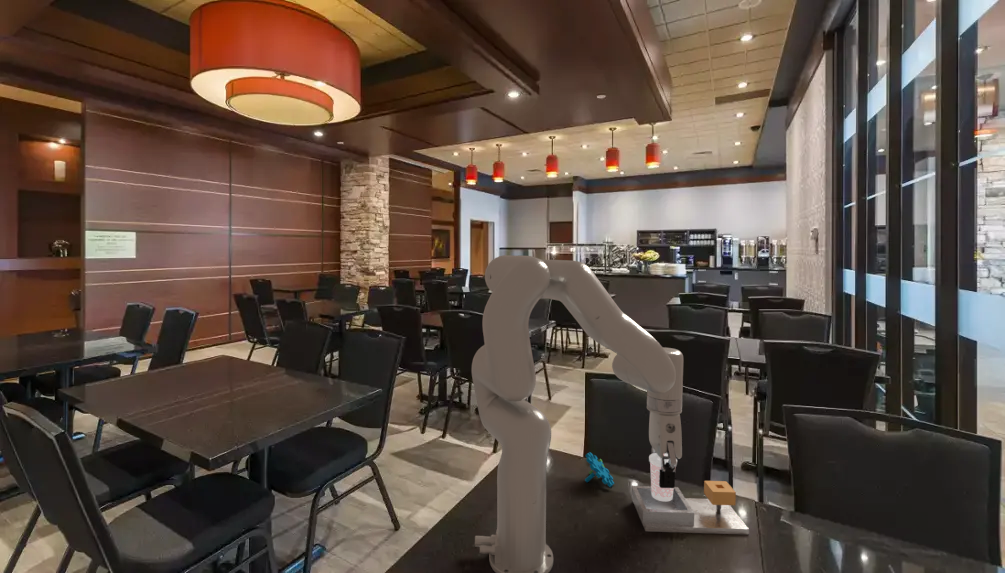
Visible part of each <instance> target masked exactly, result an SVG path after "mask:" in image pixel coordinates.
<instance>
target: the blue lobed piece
mask: <svg viewBox="0 0 1005 573" xmlns="http://www.w3.org/2000/svg"><path fill="white" fill-rule="evenodd" d="M585 457H586V460H585V461H586V462H587V463H588V464H589V468H590V469H591V470H590V471H589V472H588V473H589V475H588V476H586V478H584V481H585V482H586V483H589V482H590V481H591V480H592V479H593V478H595V477H597V479H600V478H601V482H602V484H604V485H607V486H608V488H612V487H613V485H615V482H614V481H613V480H614V477H613V476H612V475H611V474H610V471H609V469H608V468H606V467H605V465H604V463H603V459H601V458H598V456H597V455H595V454H593V453H592V452H590V451H589V452H588V453H586V454H585Z"/></svg>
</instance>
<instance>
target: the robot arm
mask: <svg viewBox="0 0 1005 573" xmlns="http://www.w3.org/2000/svg"><path fill="white" fill-rule="evenodd" d="M484 280H485V284H486V287H487V288H488V290H489V291H491V294H490V296H489V297H488V300H487V302H486V305H485V306H484V311H483V314H482V333H483V342H484V344H483V345H482V346H480V348H478V350H476V352H475V354H474V356H473V358H472V362H471V377H472V384H473V389H474V394H475V400H476V404H477V410H478V415H479V417H480V418H479V419H480V421H481V424H482V425H483V427H484V429H485V430H486V431H487V432H488V433H489V434H490V435H491V436H492V437H493V438H494V439H495V440H496V441H497V442H498V443H499V444H500V445H501V455H500V458H499V461H498V465H497V470H496V471H497V477H496V479H497V480H496V485H497V486H496V487H497V489H496V491H497V496H496V499H497V501H496V502H497V503H496V504H497V506H496V508H497V510H496V511H497V512H496V513H497V516H496V517H497V518H496V520H497V521H496V522H497V523H496V524H497V525H496V528H497V529H496V530H495V531H496V532H495V534H490V536H488V535H487V536H485V535H475V536H474V547H479V554H484V555H485V554H488V555H489V566H490V567H491V568H492V571H494V573H550V572H551V570H552V569H553V565H554V554H553V550H552V549H551V548H550V546H549V545H548V544H547V543H546V536H547V535H546V534H547V533H546V532H547V531H546V529H547V527H546V526H547V525H546V524H547V522H546V521H547V467H548V455H549V451H550V447H551V442H552V428H551V424H550V421H549V419H548V417H547V416H546V415H545V413H544V412H542V411H541V410H540V409H539V408H538V407H537V406H535V405H533V404H532V403H530V402H529V401H527V400H526V399H528V398H529V397H530V396H531V395H532V394H533V393H534V390H535V388H536V383H537V375H536V368H535V363H534V358H533V350H532V344H531V339H530V331H529V330H530V328H529V322H530V316H531V313H532V311H533V309H534V308H535V306H536V305H537V303H538V302H539V300H540V299H547V300H553V301H554V300H555V301H559V302H561V303H562V305H564V307H565V308H566V309H567V310H568V312H569V313H570V314H571V315H572V317H573V318H574V320H575V321H576V322H577V323H578V324H579V326H580V327H581V329H582V330H583V331H584V332H585V334H586V335H587V336H588V337H589V338H590V339H592V340H593V341H595V342H596V343H597V344H599V345H601V346H602V347H604V348H606V349H608V350H610V351H611V352H613V353H615V356H614V357H613V360H612V364H611V365H612V366H611V368H612V371H613V374H614V375H615V376H616V377H617V378H618V379H619V380H621V381H623V382H624V383H627V384H628V385H631V386H635V387H638V388H640V389H642V390H645V391H646V392H647V393H646V409H647V411H649V419H648V420H649V421H648V422H649V423H648V440H649V443H650V446H651V450H650V451H651V454H652V453H657V455H658V456H659V457H660V459H661V469H660V475H659V486H660V487H661V488H674V487H676V486H675V480H676V468H675V467H677V465H678V460H680V459H681V458H682V457H683V446H682V444H683V442H682V441H683V439H682V438H683V437H682V436H683V435H682V424H681V423H682V422H681V415H680V414H682V412H683V389H684V388H683V386H684V384H683V381H684V355H683V353H682V352H681V351H680V350H679V349H676V348H671V347H663V346H662V345H661V344H660V342H659V341H658V340H656V338H655V337H654V336H652V335H651V334H650V333H649V332H648V331H646V329H644V328H643V327H642V326H640V324H638V323H637V322H636V321H635V320H633V319H632V317H630V316H628V315H627V314H626V313H624V312H623V311H622V310H621V308H620V307H619V305H617V302H615V300H614V299H613V298H612V297H611V295H610V293H608V291H607V289H606V288H605V287H604V285H603V283H602V282H601V281H600V280H599V278H598V277H597V276H596V274H595V273H594V272H593V270H592V269H591V268H590V267H589V266H588V265H586V263H584V262H582V261H578V260H566V259H564V260H563V259H543V258H542V259H540V258H539V257H535V256H533V255H514V254H513V255H510V254H509V255H508V254H505V255H499V256H497V257H495V258H493V259H492V260H491V261H490V262H489V263H488V265H487V266H486V268H485V272H484ZM663 454H668V456H664V455H663ZM664 459H669V461H668V462H666V464H665V461H664ZM676 459H677V461H676Z"/></svg>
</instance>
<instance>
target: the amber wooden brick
mask: <svg viewBox="0 0 1005 573" xmlns="http://www.w3.org/2000/svg"><path fill="white" fill-rule="evenodd" d="M703 482H704V483H703V494H704V496H706V499H709V501H710V502H711V503H712V505H730V506H736V501H737V498H736V497H737V492H736V491H735V490H734V488H733V487H732V486H731V485H730V484H729V483H728V482H727V481H726V480H725V481H724V480H723V481H722V480H704V481H703Z"/></svg>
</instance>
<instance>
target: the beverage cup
mask: <svg viewBox="0 0 1005 573" xmlns="http://www.w3.org/2000/svg"><path fill="white" fill-rule="evenodd" d="M663 455H664V456H668V454H663ZM664 461H665V464H666V462H668V461H669V459H664ZM676 461H677V462H678V458H676ZM648 462H649V464H650V468H649V469H650V486H651V493H652V497H653V498H654V499H656V500H659V501H665V502H667V501H671V500H672V498H673V489H674V488H661V487H660V486H659V475H660V469H661V459H660V457H659V456H658V455H657V453H651V454H649V456H648ZM676 467H677V466H676ZM676 467H675V469H676Z"/></svg>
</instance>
